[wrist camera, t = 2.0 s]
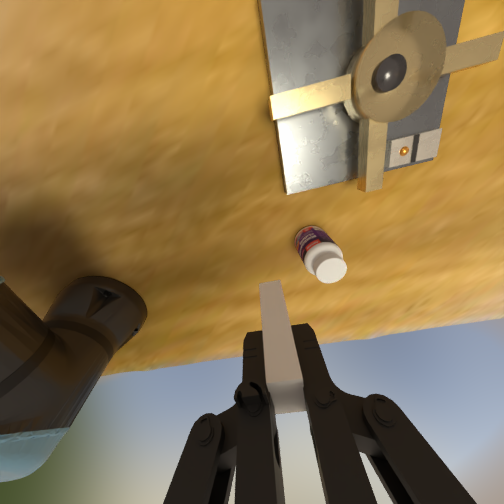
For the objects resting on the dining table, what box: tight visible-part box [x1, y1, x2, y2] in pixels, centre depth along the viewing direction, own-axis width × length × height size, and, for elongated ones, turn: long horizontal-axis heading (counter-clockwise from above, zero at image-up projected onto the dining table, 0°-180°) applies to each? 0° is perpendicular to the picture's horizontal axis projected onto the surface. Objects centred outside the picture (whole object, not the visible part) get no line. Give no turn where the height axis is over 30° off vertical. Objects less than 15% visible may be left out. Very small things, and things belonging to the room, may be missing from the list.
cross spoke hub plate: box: [257, 0, 465, 195], centre depth 23 cm, size 20×20×3 cm
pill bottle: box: [295, 226, 347, 283], centre depth 29 cm, size 5×5×10 cm
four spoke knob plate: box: [268, 0, 504, 192], centre depth 20 cm, size 22×22×4 cm
